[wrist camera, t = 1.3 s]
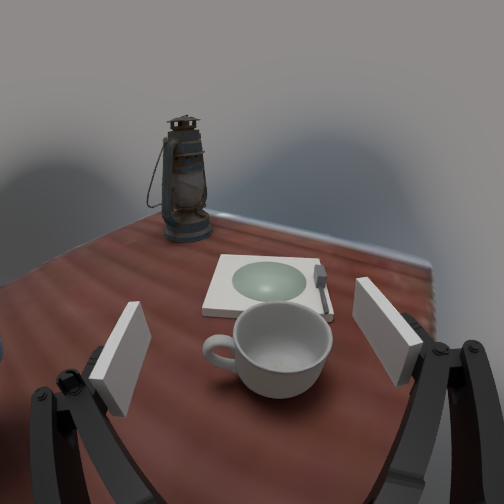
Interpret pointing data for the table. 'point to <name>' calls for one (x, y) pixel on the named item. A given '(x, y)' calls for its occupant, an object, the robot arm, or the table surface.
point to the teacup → (275, 348)
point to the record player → (266, 284)
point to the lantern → (183, 184)
